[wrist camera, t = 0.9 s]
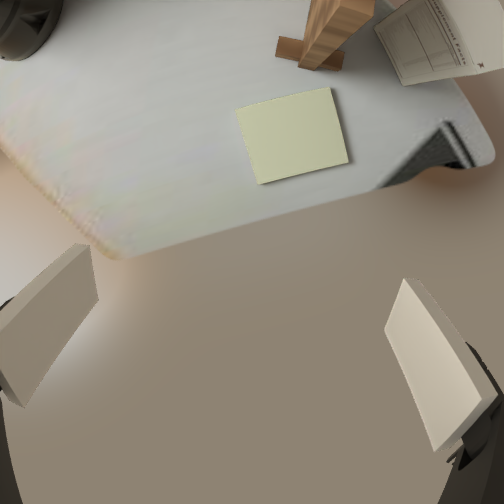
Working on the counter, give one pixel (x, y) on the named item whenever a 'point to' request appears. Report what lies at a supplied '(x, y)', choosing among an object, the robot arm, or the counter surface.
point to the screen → (326, 33)
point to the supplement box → (443, 39)
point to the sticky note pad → (292, 135)
